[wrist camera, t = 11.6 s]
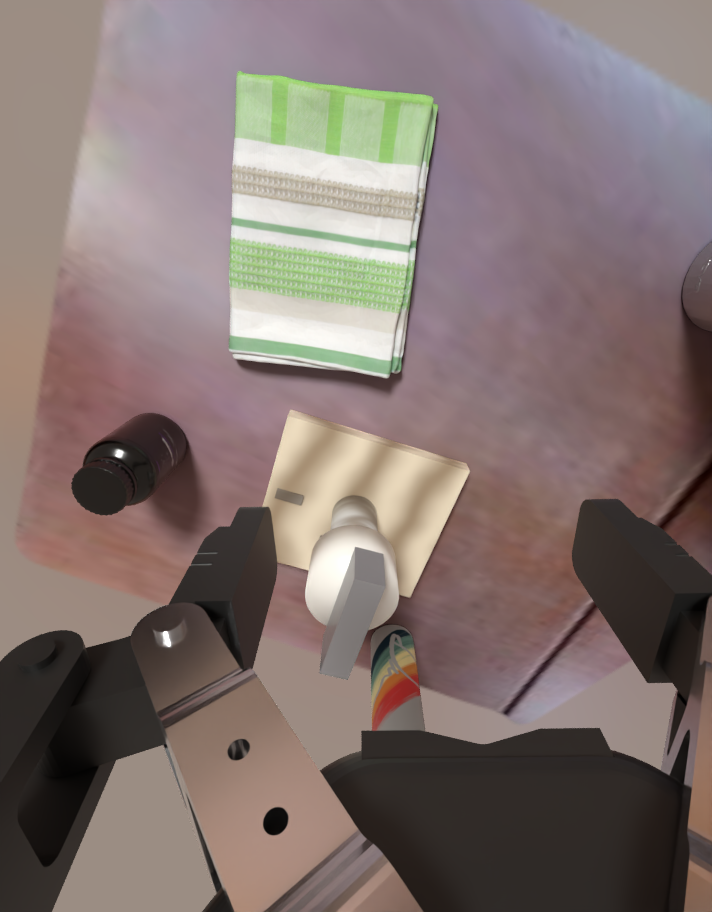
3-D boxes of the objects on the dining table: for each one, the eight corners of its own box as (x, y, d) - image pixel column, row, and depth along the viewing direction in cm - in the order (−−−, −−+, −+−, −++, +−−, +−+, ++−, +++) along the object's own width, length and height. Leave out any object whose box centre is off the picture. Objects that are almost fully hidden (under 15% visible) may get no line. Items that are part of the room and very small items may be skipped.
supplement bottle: (201, 440, 50) (155, 493, 39) (165, 479, 52) (112, 540, 41) (148, 397, 48) (85, 440, 37) (112, 440, 50) (43, 493, 39)
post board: (466, 463, 51) (488, 510, 42) (408, 586, 58) (417, 649, 49) (290, 409, 49) (274, 446, 39) (253, 544, 56) (231, 602, 47)
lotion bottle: (412, 622, 60) (434, 784, 42) (413, 654, 63) (434, 820, 44) (369, 624, 61) (372, 785, 42) (371, 655, 63) (375, 822, 45)
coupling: (326, 506, 41) (317, 569, 33) (410, 528, 42) (421, 595, 34) (299, 590, 45) (285, 665, 37) (377, 609, 46) (380, 687, 38)
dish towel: (231, 355, 47) (221, 363, 44) (233, 74, 38) (221, 58, 34) (398, 375, 48) (400, 384, 44) (440, 104, 38) (448, 91, 35)
